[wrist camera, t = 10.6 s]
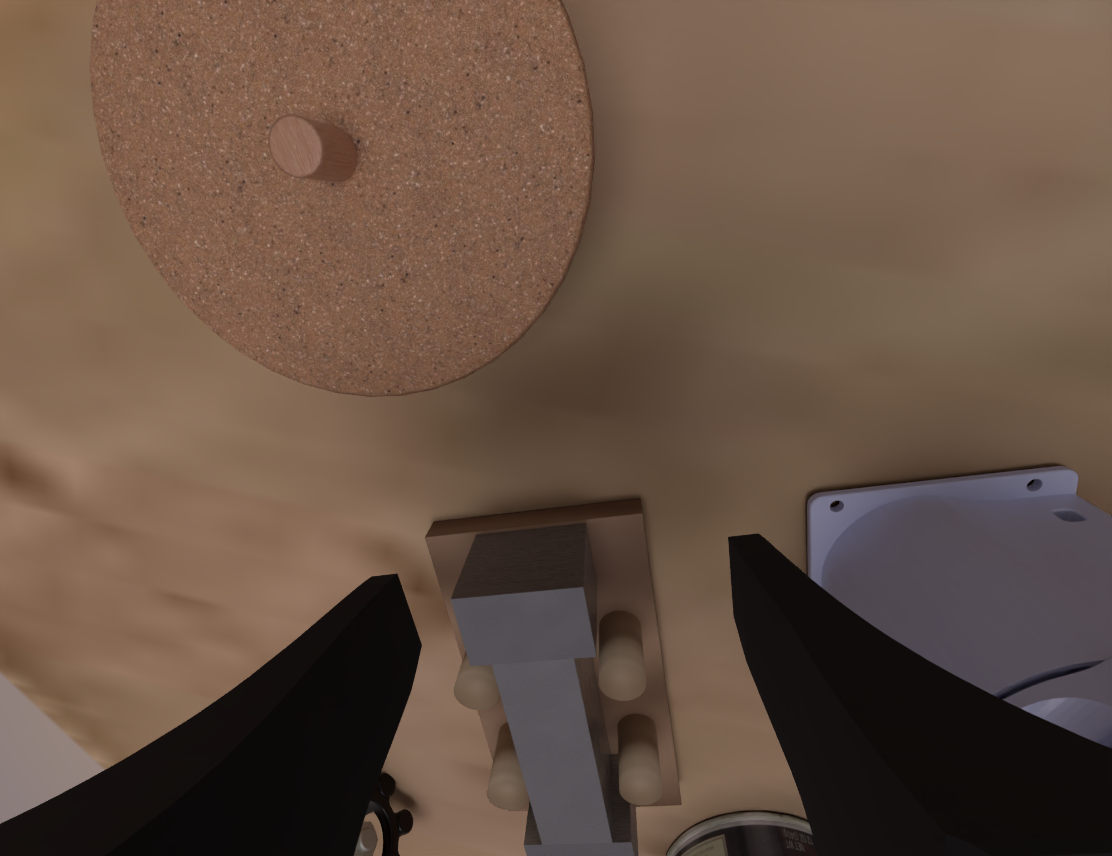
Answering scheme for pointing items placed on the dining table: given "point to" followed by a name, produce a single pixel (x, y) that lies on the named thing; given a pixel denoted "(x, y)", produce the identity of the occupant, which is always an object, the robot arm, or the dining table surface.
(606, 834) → the metal i-beam
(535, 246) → the lidded jar
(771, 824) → the coffee can
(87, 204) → the dining table surface
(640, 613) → the peg rack
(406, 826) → the valve
